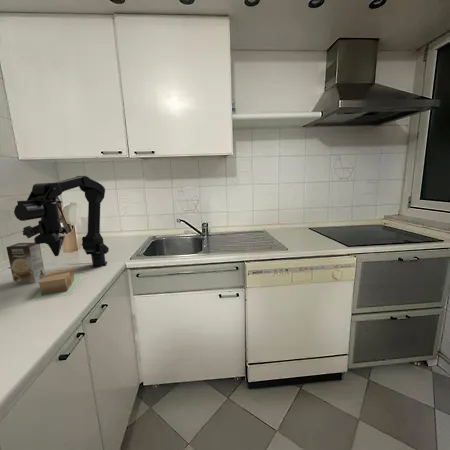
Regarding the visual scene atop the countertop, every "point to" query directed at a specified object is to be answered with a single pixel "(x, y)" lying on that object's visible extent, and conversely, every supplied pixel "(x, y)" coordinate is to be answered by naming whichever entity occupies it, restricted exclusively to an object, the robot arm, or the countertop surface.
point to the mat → (69, 292)
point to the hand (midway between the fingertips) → (56, 255)
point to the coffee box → (26, 262)
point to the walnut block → (56, 282)
